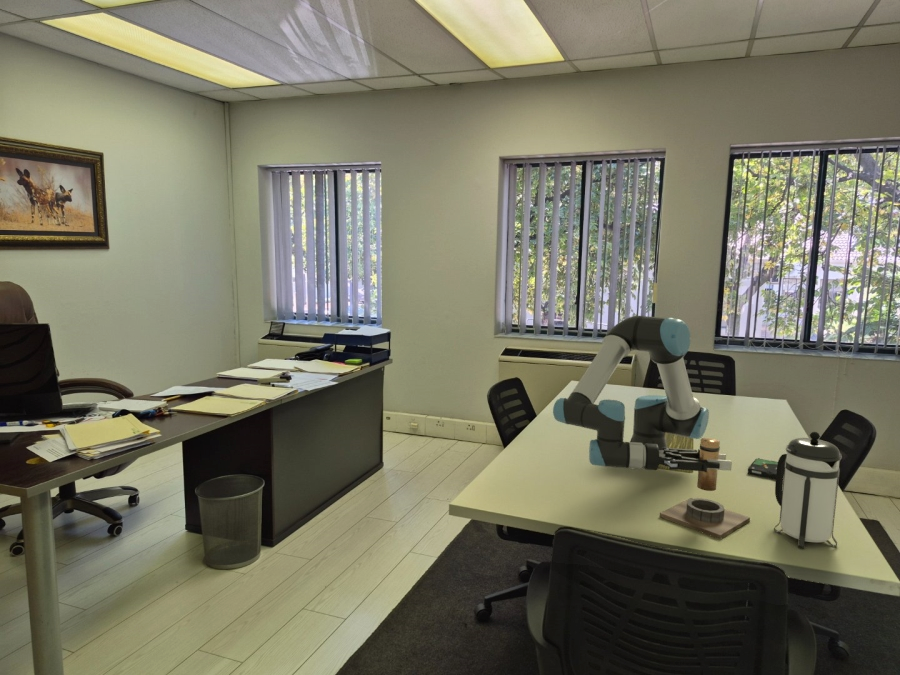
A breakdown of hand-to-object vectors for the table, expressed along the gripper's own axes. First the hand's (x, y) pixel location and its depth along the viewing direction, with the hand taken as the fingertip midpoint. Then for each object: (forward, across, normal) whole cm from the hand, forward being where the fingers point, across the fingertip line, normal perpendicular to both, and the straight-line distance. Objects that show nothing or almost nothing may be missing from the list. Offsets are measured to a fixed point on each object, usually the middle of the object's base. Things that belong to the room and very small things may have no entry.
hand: (728, 462), depth 171 cm
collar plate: (-5, 0, -18) cm, 18 cm away
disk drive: (+27, -47, -18) cm, 58 cm away
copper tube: (-5, 0, -8) cm, 10 cm away
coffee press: (+18, +6, -18) cm, 26 cm away
